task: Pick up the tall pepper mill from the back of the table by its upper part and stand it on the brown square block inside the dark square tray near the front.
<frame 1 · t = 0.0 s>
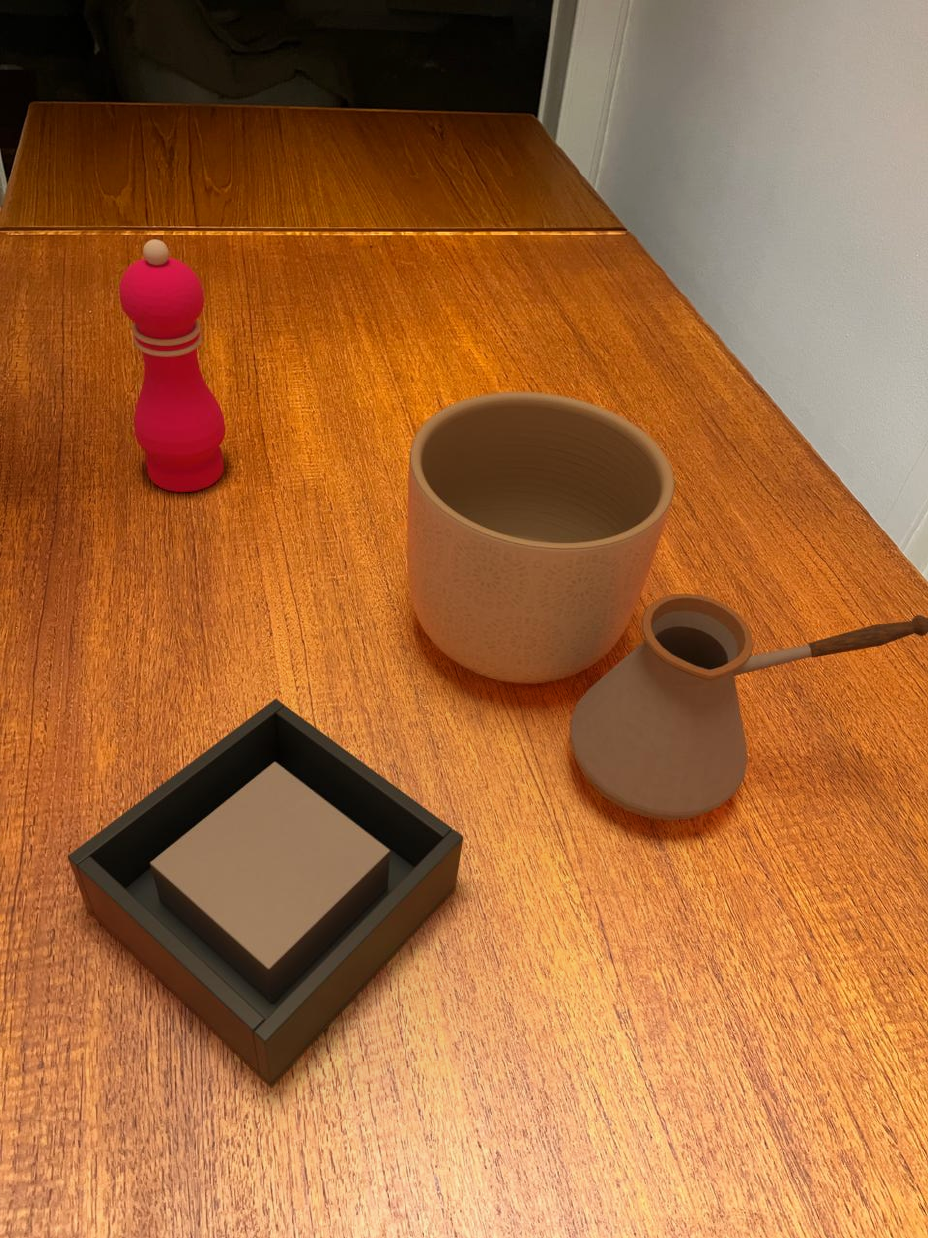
coffee pot: (719, 770, 65), on the table
brown square block: (275, 894, 55), point 1 cm above the table, touching dark square tray
pepper mill: (186, 472, 83), on the table
dark square tray: (276, 900, 55), on the table
planter: (513, 631, 73), on the table
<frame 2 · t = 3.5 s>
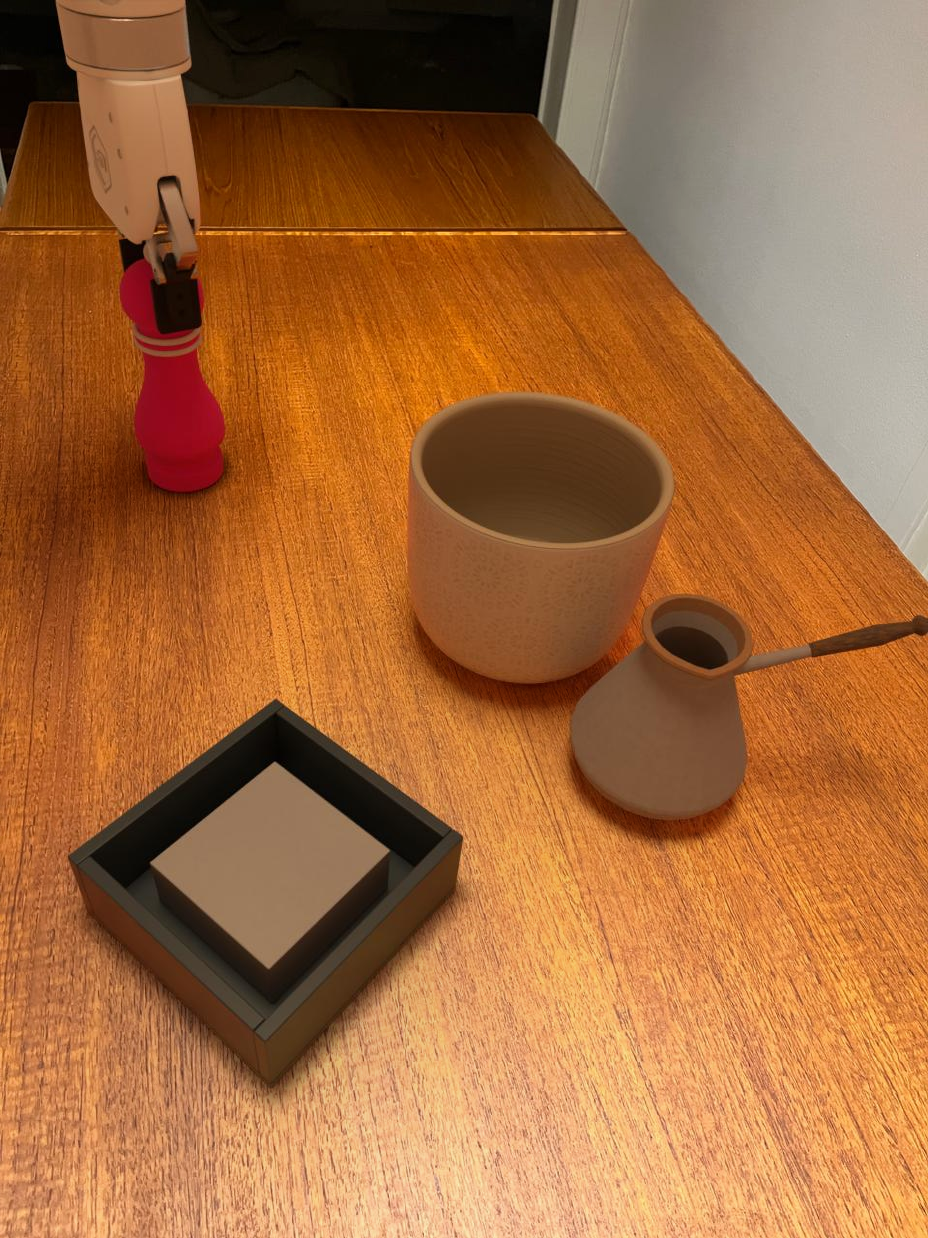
hand: (163, 306, 72), 15 cm above the table, tool pointing down, fingers closed on pepper mill, 6 cm apart
pepper mill: (186, 472, 83), on the table, touching gripper
everything else where it was.
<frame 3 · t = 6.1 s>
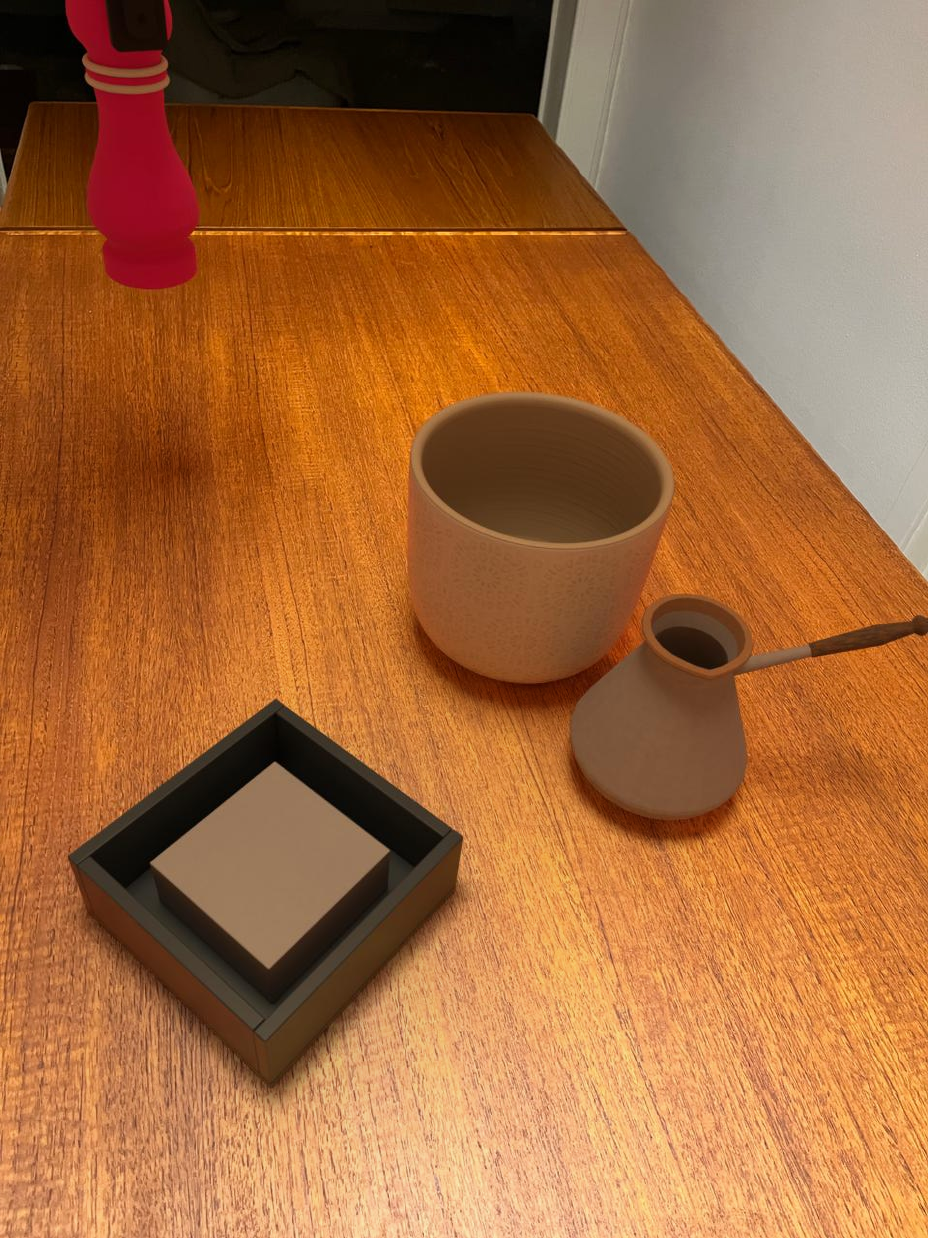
hand: (121, 30, 59), 34 cm above the table, tool pointing down, fingers closed on pepper mill, 6 cm apart
pepper mill: (152, 273, 69), point 18 cm above the table, touching gripper
everything else where it was.
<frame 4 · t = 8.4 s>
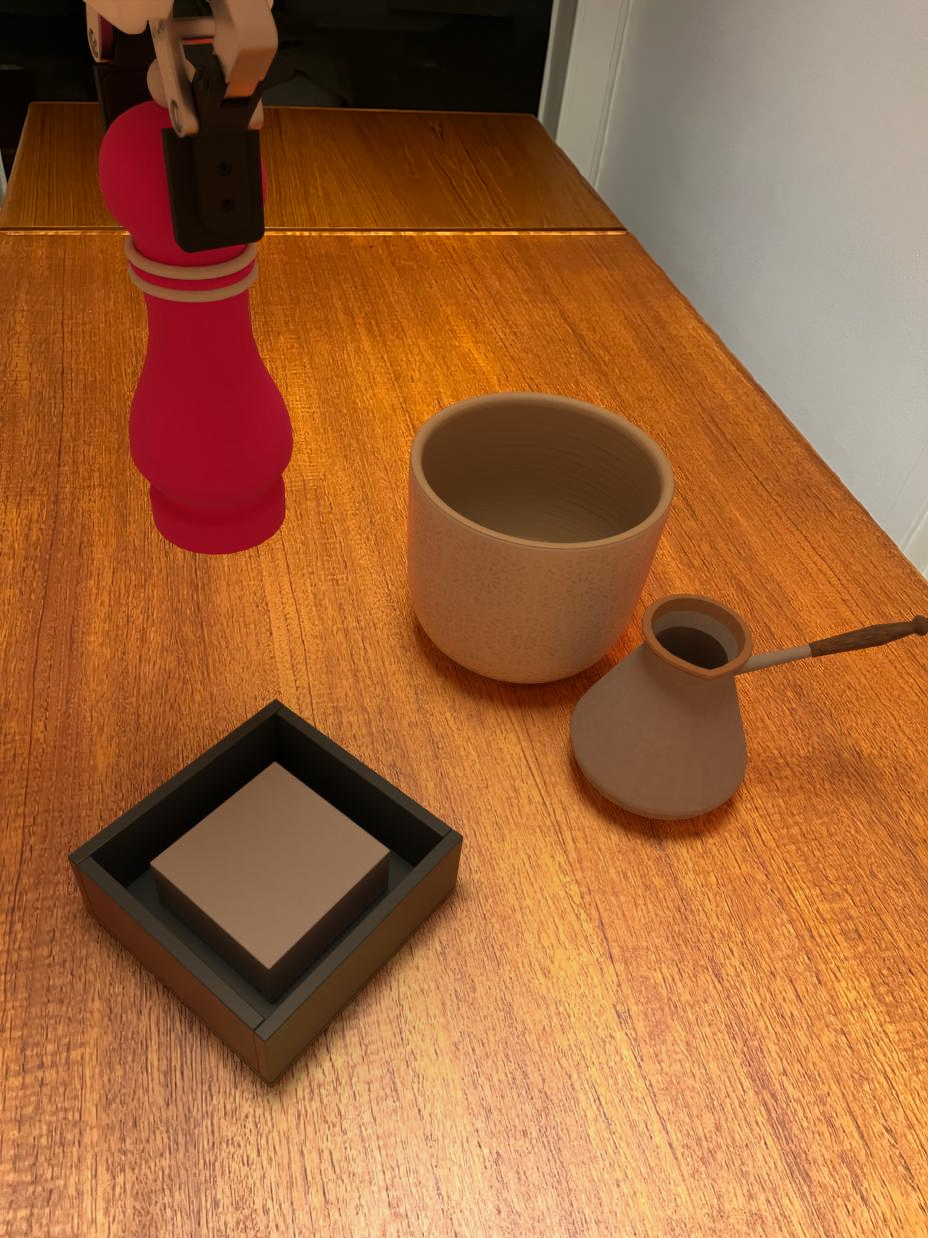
hand: (184, 203, 37), 36 cm above the table, tool pointing down, fingers closed on pepper mill, 6 cm apart
pepper mill: (221, 517, 47), point 20 cm above the table, touching gripper
everything else where it was.
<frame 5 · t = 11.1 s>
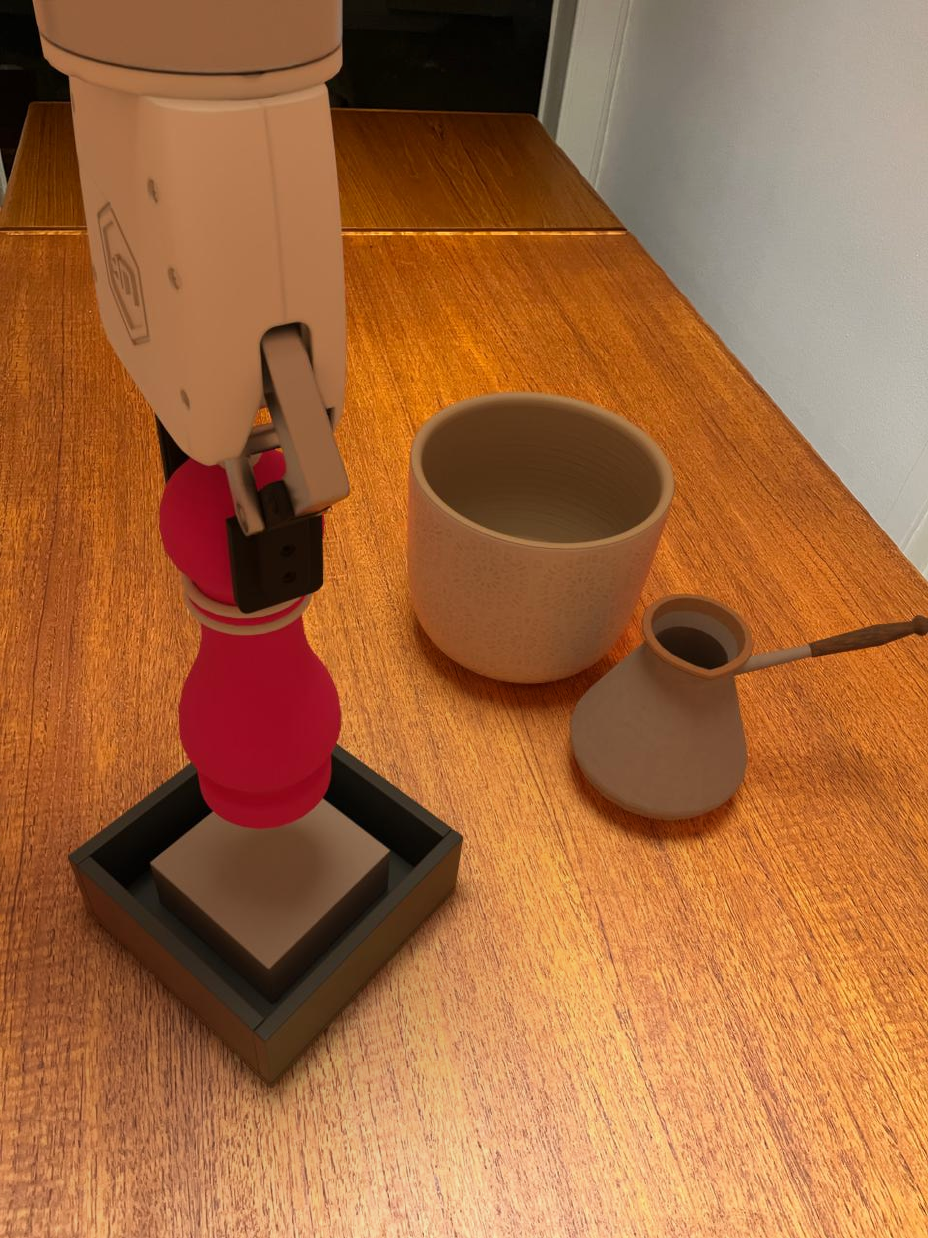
hand: (242, 538, 37), 27 cm above the table, tool pointing down, fingers closed on pepper mill, 6 cm apart
pepper mill: (266, 778, 47), point 12 cm above the table, touching gripper
everything else where it was.
when the fingers open (20 cm above the table, at t = 13.3 s): pepper mill stays where it is, resting on brown square block.
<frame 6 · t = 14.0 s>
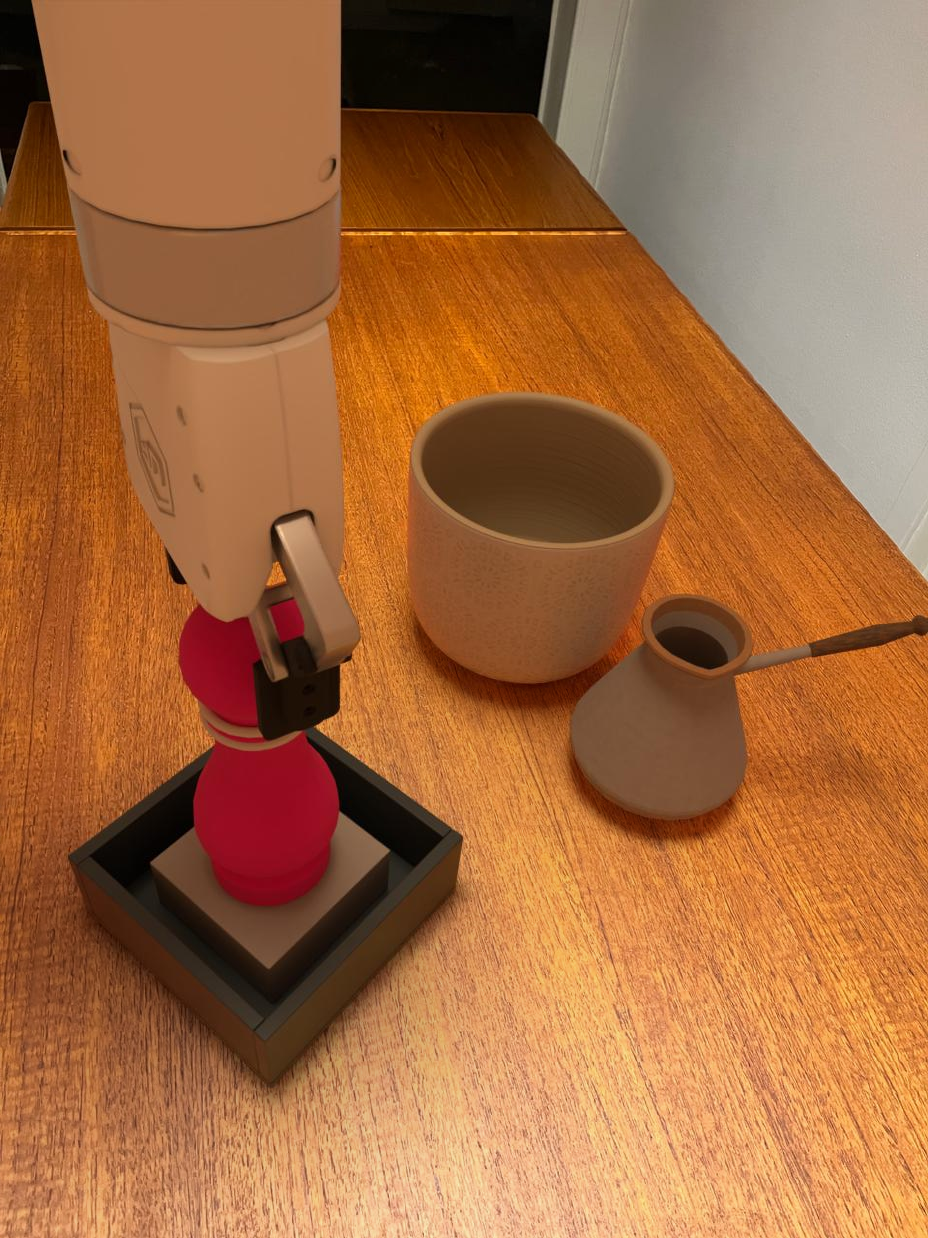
hand: (250, 642, 41), 21 cm above the table, tool pointing down, fingers open, 9 cm apart
brown square block: (275, 894, 55), point 1 cm above the table, touching dark square tray, pepper mill
pepper mill: (271, 857, 52), point 4 cm above the table, touching brown square block
everything else where it was.
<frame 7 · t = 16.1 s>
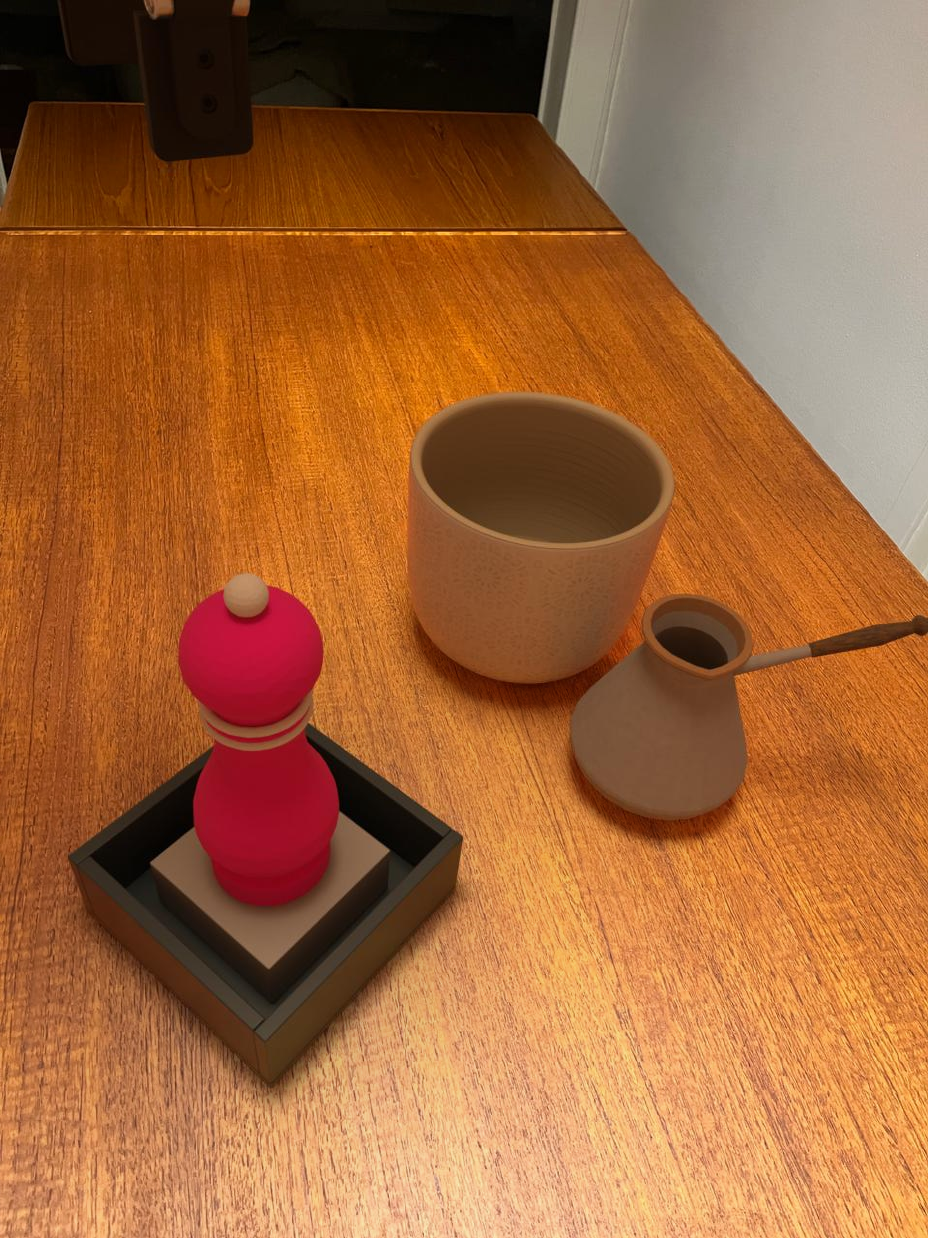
hand: (154, 104, 34), 39 cm above the table, tool pointing down, fingers open, 9 cm apart
nothing on the table moved.
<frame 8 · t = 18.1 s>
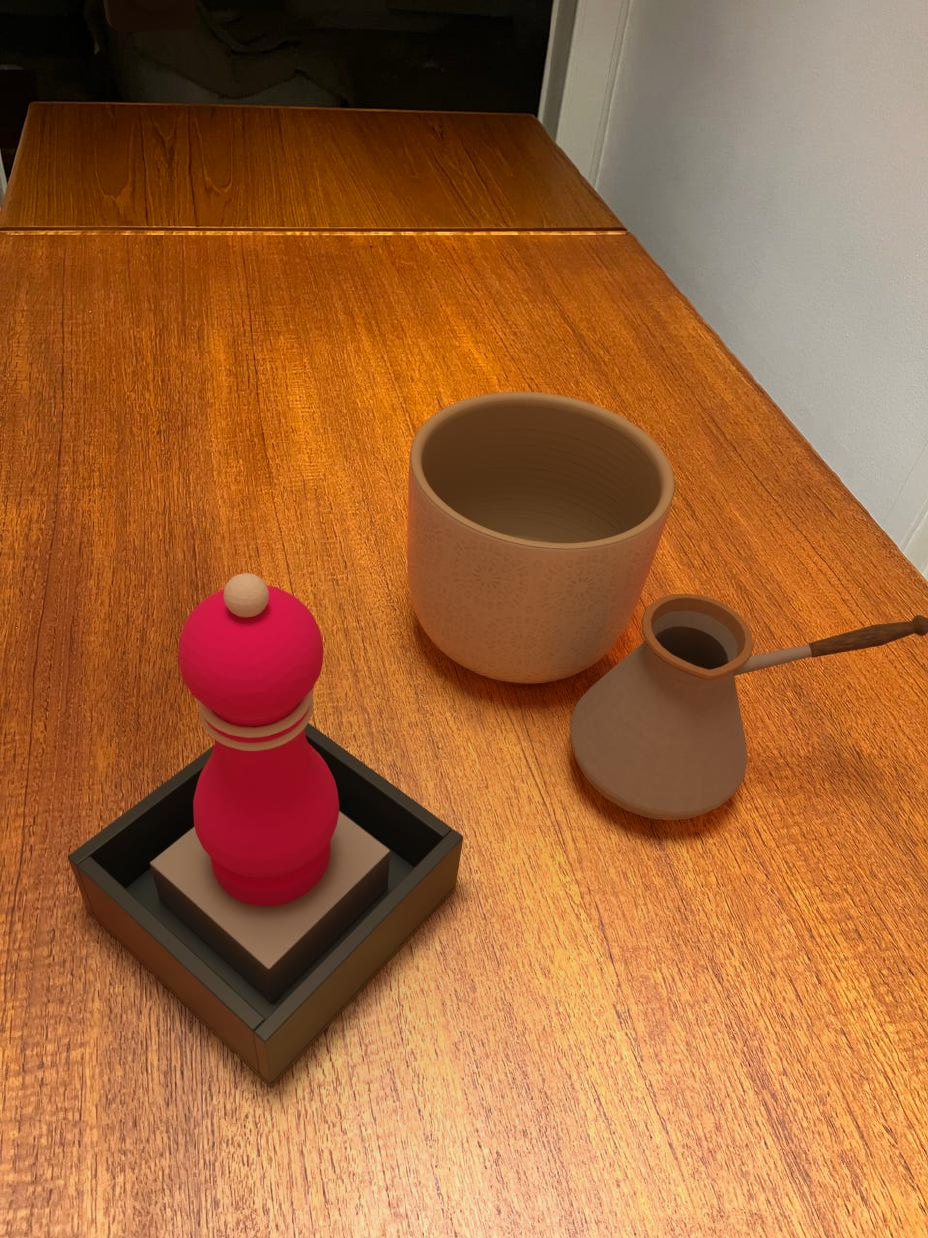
nothing on the table moved.
at the end: pepper mill 0.1 cm off-centre on the brown square block, point 3.8 cm above the brown square block's base; pepper mill tilted 0°; brown square block inside the target area in the dark square tray (0.0 cm from its centre), point 0.6 cm above the dark square tray's base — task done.
